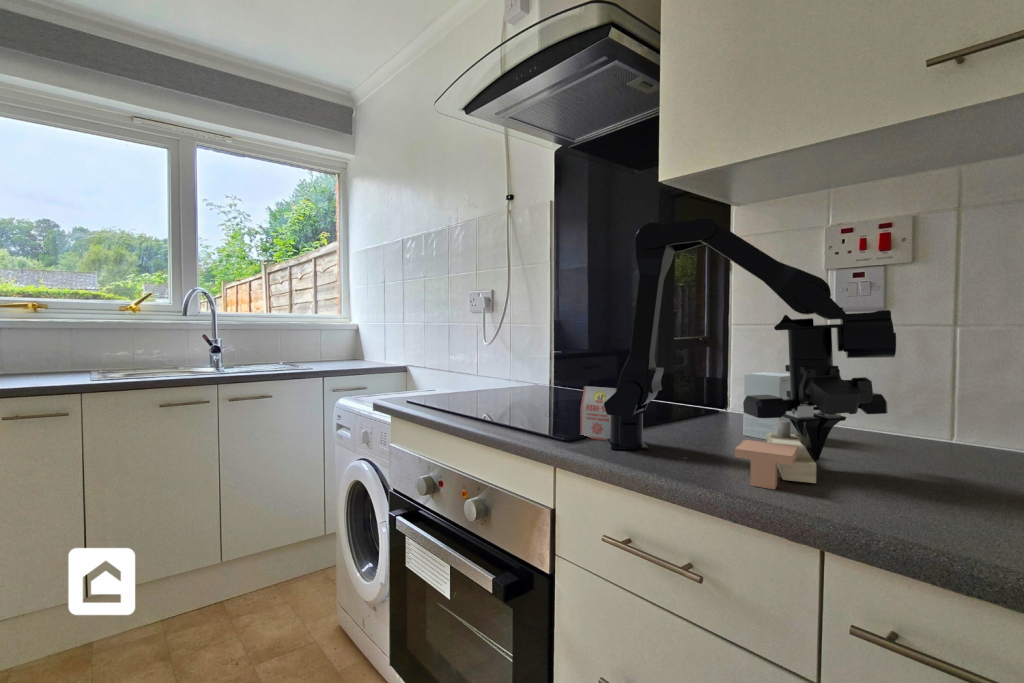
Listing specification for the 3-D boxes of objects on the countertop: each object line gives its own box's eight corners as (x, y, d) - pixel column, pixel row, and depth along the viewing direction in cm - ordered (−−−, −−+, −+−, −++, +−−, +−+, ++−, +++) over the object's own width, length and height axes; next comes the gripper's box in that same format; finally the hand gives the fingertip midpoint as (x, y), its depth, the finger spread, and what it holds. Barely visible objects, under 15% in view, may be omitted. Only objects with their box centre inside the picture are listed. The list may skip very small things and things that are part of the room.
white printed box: (587, 434, 101) (588, 385, 101) (619, 438, 98) (619, 387, 97) (580, 437, 98) (580, 387, 98) (612, 441, 95) (612, 389, 94)
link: (765, 446, 89) (765, 418, 88) (798, 449, 87) (798, 420, 86) (778, 479, 70) (778, 443, 69) (821, 483, 68) (821, 446, 67)
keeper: (744, 470, 75) (744, 439, 75) (797, 479, 71) (798, 445, 71) (734, 482, 69) (735, 448, 69) (791, 492, 65) (792, 456, 65)
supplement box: (779, 442, 94) (780, 376, 93) (741, 435, 100) (742, 373, 99) (797, 437, 98) (798, 373, 98) (760, 431, 104) (761, 371, 104)
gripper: (773, 364, 68) (777, 477, 68) (913, 358, 67) (918, 473, 67) (740, 360, 79) (744, 457, 79) (860, 355, 78) (864, 453, 79)
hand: (814, 460), depth 76 cm, fingers closed
